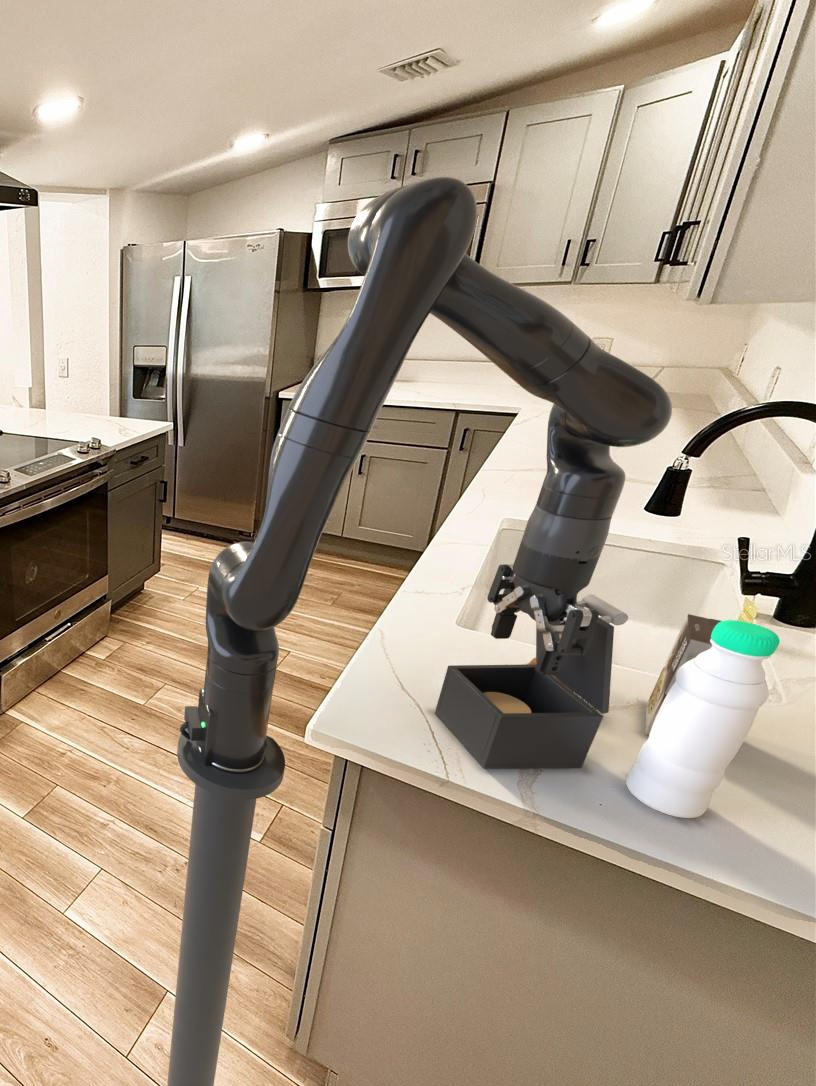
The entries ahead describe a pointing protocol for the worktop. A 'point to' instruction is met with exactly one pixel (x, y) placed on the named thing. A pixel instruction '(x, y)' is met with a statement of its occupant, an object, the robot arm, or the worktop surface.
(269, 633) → the robot arm
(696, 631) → the coffee box
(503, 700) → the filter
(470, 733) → the hinged dark box
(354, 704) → the worktop surface
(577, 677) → the lid
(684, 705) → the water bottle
